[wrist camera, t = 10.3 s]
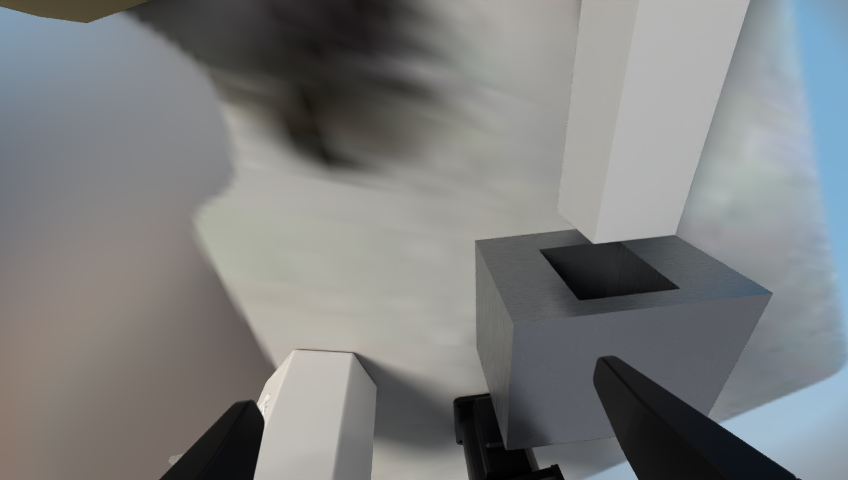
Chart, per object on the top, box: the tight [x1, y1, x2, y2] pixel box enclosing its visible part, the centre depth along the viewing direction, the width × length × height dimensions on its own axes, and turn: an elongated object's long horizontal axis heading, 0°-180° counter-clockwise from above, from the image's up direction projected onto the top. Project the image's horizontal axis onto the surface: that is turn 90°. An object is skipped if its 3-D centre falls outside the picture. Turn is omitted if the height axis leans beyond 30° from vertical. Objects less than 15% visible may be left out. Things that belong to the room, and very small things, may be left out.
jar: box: [254, 350, 377, 480], centre depth 21 cm, size 9×8×12 cm
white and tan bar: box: [557, 0, 750, 244], centre depth 13 cm, size 14×7×7 cm, turn 5°
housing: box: [475, 229, 773, 451], centre depth 20 cm, size 10×12×8 cm
